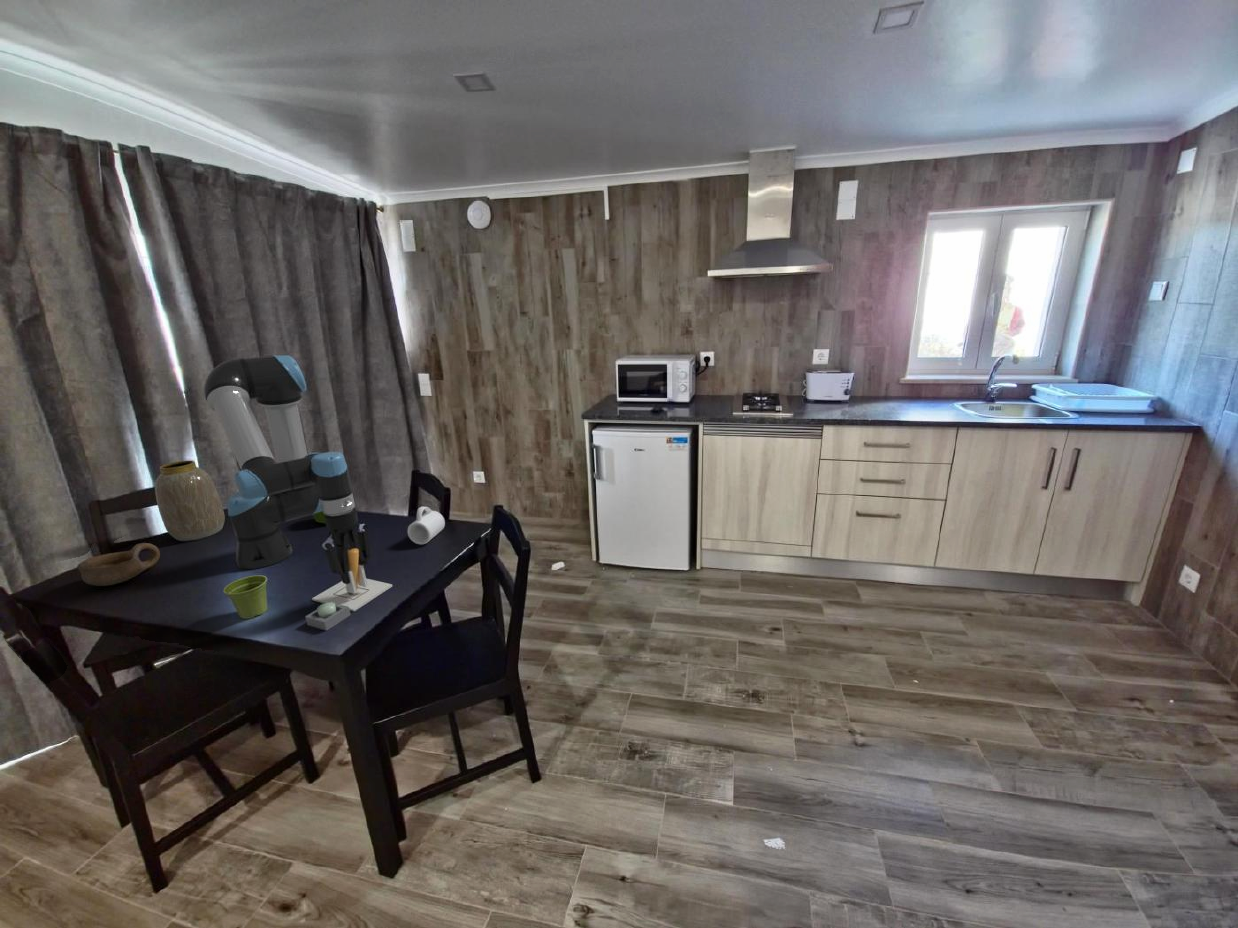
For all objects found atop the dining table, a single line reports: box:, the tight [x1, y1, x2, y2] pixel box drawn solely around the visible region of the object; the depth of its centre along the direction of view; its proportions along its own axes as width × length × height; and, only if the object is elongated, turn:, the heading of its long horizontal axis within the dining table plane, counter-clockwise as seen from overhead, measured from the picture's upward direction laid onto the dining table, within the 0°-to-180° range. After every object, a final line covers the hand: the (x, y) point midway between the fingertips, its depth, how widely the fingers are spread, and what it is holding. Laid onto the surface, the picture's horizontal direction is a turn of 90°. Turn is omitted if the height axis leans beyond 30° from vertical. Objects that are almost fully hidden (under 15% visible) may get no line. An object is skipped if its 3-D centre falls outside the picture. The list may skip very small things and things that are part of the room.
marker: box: [346, 547, 359, 594], centre depth 137 cm, size 3×3×14 cm
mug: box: [407, 506, 446, 546], centre depth 171 cm, size 8×10×12 cm
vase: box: [154, 460, 226, 542], centre depth 181 cm, size 17×17×27 cm
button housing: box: [305, 603, 352, 631], centre depth 128 cm, size 7×7×2 cm
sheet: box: [311, 578, 393, 612], centre depth 141 cm, size 16×13×1 cm
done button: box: [316, 602, 337, 619], centre depth 128 cm, size 4×4×3 cm
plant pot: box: [222, 574, 268, 620], centre depth 132 cm, size 9×9×9 cm
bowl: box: [76, 542, 161, 587], centre depth 154 cm, size 18×14×10 cm
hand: (357, 588), depth 138 cm, fingers open, 3 cm apart
